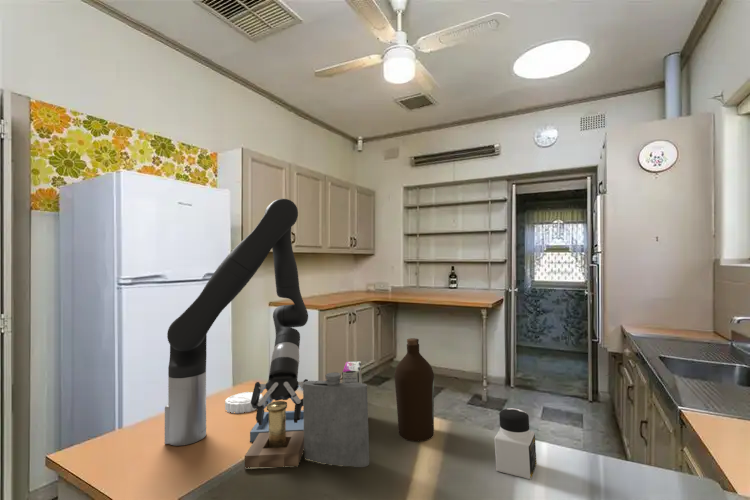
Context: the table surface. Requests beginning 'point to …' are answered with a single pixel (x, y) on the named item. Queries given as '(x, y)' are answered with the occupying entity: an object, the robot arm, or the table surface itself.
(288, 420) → the slate tray
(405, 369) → the olive oil
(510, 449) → the medicine bottle
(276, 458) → the walnut pin block
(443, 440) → the table surface
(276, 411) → the brass pin
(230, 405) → the mooncake
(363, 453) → the hip flask
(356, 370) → the candy bar box
